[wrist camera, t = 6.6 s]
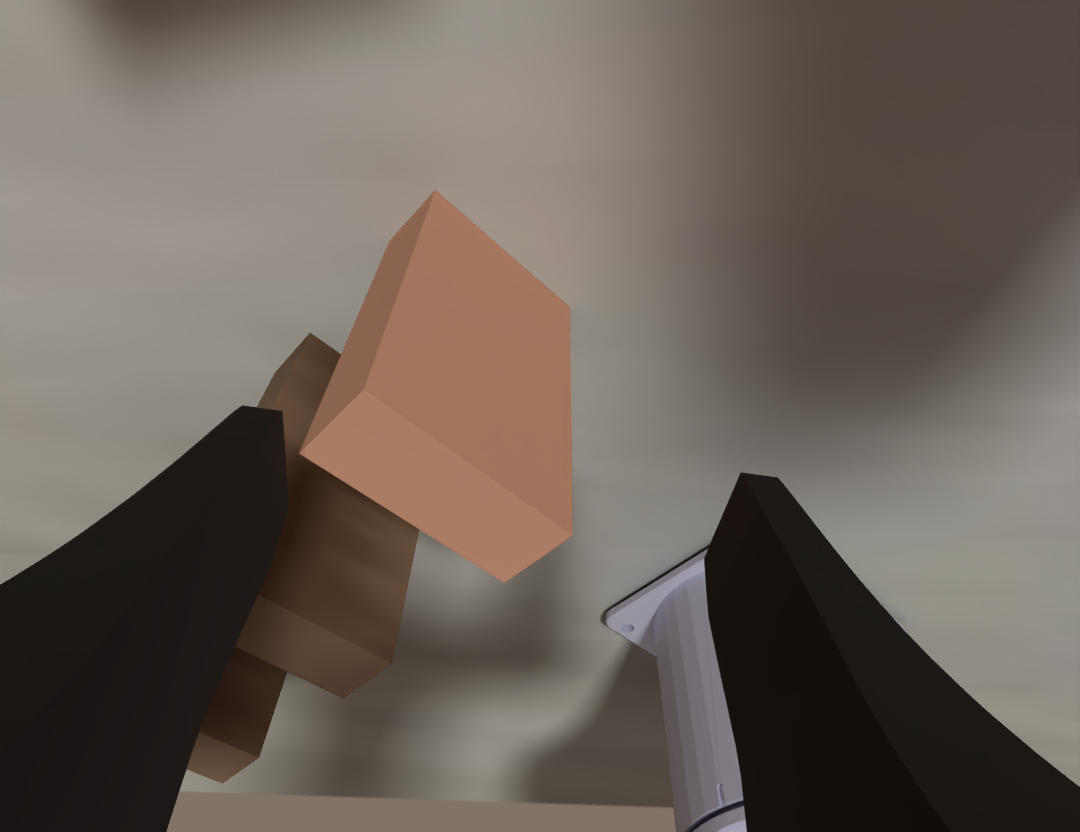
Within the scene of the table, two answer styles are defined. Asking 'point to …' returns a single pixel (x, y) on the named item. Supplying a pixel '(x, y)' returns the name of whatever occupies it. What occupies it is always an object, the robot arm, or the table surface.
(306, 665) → the domino
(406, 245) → the domino
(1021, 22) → the table surface
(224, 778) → the domino
